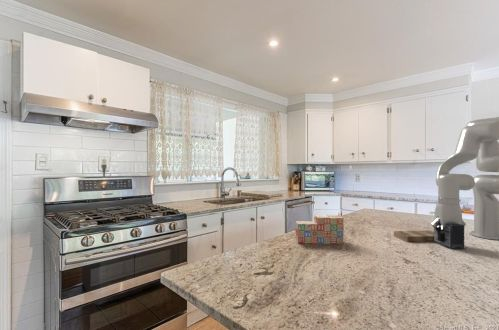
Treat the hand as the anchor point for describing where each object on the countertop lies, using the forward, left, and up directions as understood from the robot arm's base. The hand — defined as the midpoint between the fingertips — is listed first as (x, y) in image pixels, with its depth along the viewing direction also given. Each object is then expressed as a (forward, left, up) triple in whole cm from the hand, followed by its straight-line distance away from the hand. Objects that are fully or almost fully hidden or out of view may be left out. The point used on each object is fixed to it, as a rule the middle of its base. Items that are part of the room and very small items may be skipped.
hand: (448, 240), depth 114 cm
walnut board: (+5, -11, -2) cm, 12 cm away
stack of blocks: (+57, -10, -3) cm, 58 cm away
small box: (0, 0, -2) cm, 2 cm away
